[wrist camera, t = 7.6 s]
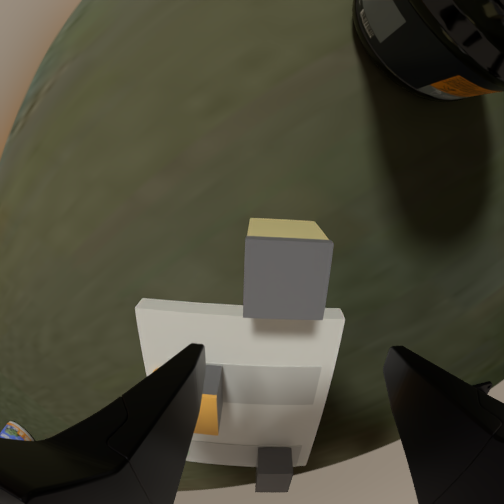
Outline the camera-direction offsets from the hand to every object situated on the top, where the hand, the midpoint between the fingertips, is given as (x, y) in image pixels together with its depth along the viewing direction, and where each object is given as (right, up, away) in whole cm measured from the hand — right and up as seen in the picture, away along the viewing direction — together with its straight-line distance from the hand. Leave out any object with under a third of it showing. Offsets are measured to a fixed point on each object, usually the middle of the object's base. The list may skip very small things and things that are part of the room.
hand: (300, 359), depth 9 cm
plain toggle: (+1, -16, +15) cm, 22 cm away
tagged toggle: (-5, -6, +12) cm, 14 cm away
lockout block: (0, +3, +10) cm, 11 cm away
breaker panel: (-3, -9, +14) cm, 17 cm away
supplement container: (+10, +18, +6) cm, 22 cm away
